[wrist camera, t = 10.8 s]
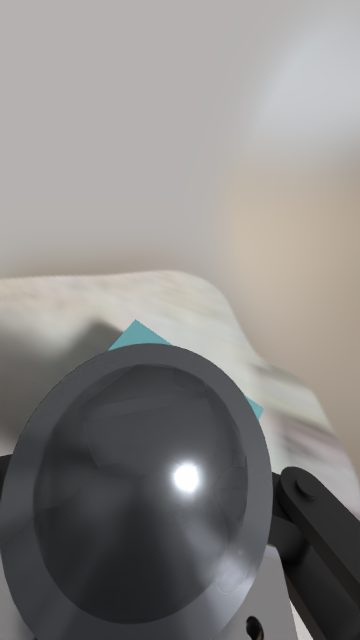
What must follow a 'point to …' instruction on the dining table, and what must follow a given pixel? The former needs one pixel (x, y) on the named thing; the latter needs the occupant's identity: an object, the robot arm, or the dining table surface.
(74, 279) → the dining table surface
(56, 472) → the axle
